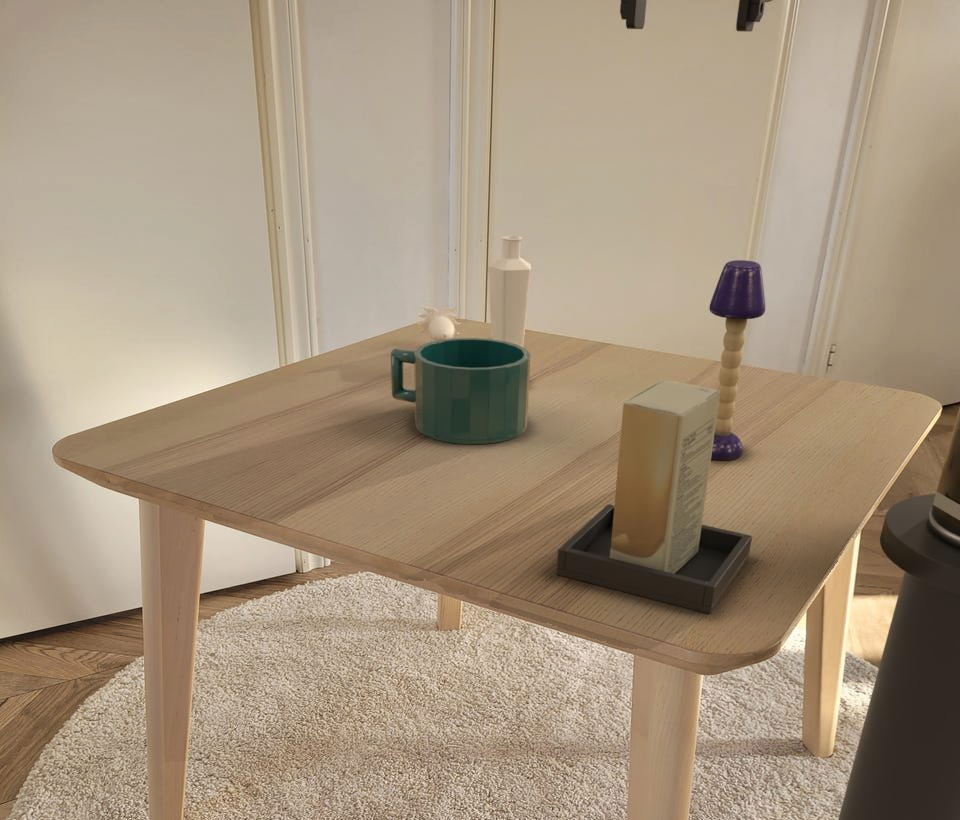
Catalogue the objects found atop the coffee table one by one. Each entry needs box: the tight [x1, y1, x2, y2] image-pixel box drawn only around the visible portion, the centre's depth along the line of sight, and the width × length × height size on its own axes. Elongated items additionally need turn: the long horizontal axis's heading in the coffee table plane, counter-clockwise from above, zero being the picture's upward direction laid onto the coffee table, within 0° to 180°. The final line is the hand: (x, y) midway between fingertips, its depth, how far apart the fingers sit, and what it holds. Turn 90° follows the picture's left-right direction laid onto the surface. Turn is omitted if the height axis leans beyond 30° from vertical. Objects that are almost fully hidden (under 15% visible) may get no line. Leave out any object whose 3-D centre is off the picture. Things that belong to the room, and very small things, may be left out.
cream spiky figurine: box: [416, 304, 462, 343], centre depth 117 cm, size 12×5×5 cm, turn 6°
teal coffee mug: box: [390, 337, 531, 445], centre depth 96 cm, size 14×11×7 cm
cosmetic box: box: [610, 378, 720, 574], centre depth 68 cm, size 6×4×12 cm
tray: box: [556, 503, 753, 614], centre depth 71 cm, size 11×9×2 cm
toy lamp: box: [708, 259, 766, 461], centre depth 88 cm, size 5×5×17 cm
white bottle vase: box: [487, 235, 532, 348], centre depth 105 cm, size 5×4×15 cm
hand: (688, 30), depth 75 cm, fingers open, 8 cm apart
